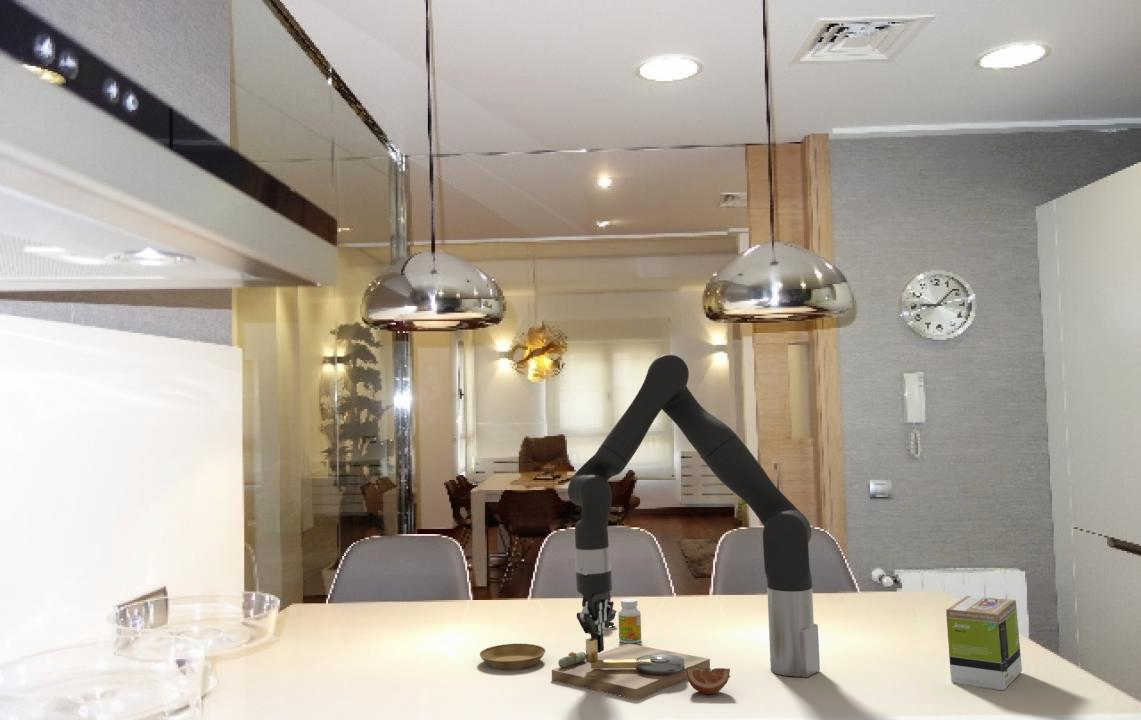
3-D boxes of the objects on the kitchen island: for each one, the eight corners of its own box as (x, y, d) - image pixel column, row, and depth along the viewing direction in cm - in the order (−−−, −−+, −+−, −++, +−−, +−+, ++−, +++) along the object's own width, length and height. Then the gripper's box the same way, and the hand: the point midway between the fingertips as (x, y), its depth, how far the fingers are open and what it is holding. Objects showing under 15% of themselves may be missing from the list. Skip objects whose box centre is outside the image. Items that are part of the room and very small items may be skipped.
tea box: (970, 665, 185) (966, 594, 186) (1023, 673, 178) (1018, 599, 179) (949, 683, 173) (945, 607, 174) (1004, 692, 167) (999, 613, 168)
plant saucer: (486, 676, 188) (485, 663, 188) (474, 658, 202) (474, 646, 202) (553, 669, 191) (552, 656, 192) (537, 652, 206) (537, 640, 206)
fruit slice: (730, 688, 173) (729, 663, 174) (731, 699, 167) (730, 673, 167) (688, 687, 175) (687, 662, 175) (686, 698, 168) (685, 672, 169)
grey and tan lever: (682, 660, 186) (681, 632, 186) (686, 674, 176) (685, 644, 176) (587, 662, 187) (586, 633, 187) (585, 675, 177) (584, 646, 177)
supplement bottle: (615, 642, 211) (614, 601, 212) (624, 637, 216) (623, 597, 217) (636, 644, 209) (634, 603, 209) (644, 639, 214) (643, 598, 214)
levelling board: (710, 668, 188) (709, 646, 188) (636, 699, 168) (635, 675, 168) (628, 652, 202) (627, 632, 202) (551, 679, 183) (551, 657, 183)
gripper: (592, 562, 194) (596, 642, 193) (562, 574, 182) (567, 658, 182) (622, 563, 190) (627, 644, 189) (594, 575, 179) (599, 662, 178)
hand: (597, 651), depth 185 cm, fingers closed
